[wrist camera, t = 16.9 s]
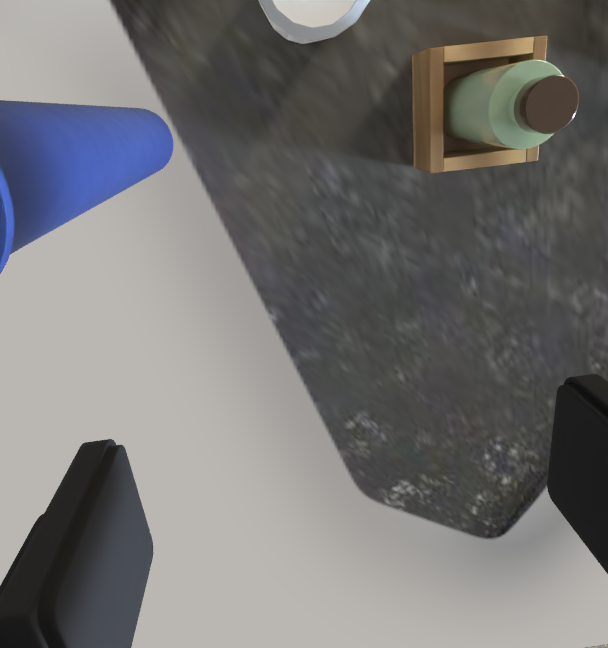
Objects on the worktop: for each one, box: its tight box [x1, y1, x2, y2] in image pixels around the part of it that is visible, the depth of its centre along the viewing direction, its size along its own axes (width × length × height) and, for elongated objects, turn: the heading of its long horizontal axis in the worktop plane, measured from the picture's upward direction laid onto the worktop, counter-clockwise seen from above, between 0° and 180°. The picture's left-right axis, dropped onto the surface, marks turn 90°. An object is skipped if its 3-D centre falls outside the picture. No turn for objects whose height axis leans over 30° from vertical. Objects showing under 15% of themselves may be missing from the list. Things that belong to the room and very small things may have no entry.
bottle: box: [443, 60, 579, 149], centre depth 31 cm, size 5×5×12 cm
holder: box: [412, 36, 547, 173], centre depth 35 cm, size 8×8×4 cm
